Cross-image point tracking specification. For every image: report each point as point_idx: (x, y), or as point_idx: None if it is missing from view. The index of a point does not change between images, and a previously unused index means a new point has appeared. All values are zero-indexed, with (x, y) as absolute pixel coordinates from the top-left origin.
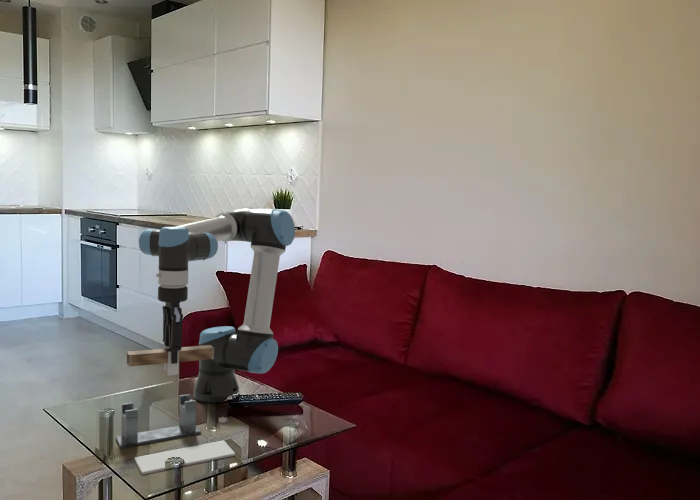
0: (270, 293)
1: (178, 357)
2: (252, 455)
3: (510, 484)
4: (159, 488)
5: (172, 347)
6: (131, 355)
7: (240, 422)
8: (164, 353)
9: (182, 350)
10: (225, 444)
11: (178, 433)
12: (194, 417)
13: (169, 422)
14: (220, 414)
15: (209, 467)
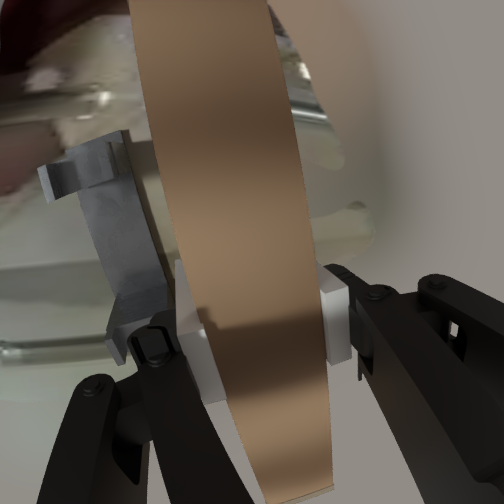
0: None
1: (323, 268)
2: (275, 26)
3: None
4: (365, 220)
5: (452, 343)
6: (331, 482)
7: (74, 35)
8: (325, 373)
9: (305, 255)
10: None
11: (125, 188)
12: (117, 146)
13: (41, 217)
14: (14, 89)
15: (312, 121)
